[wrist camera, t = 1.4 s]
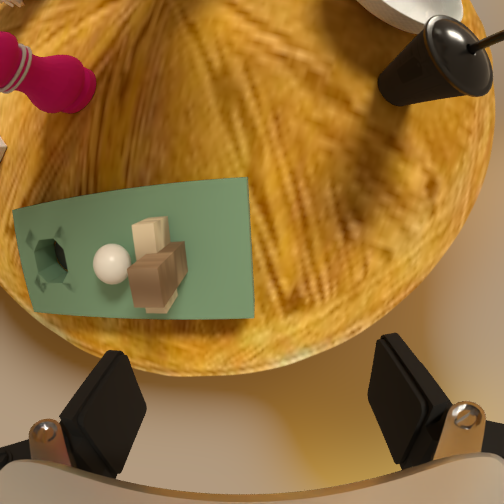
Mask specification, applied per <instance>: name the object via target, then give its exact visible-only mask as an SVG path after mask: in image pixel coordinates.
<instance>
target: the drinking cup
mask: <svg viewBox="0 0 504 504" xmlns="http://www.w3.org/2000/svg"><path fill="white" fill-rule="evenodd" d="M503 40H504V30H502V31H500V32H497V33H495V34H493V35H491V36H488V37H486V38H484V39H482V40H480V41H479V39H478V38H477V37H476V36H475V35H474V33H473V32H472V31H471V30H470V29H469V28H468V27H466V26H465V25H464V24H463V23H461V22H460V21H458V20H456V19H454V18H452V17H450V16H446V15H435V16H432V17H431V18H429V19H428V20H427V21H426V23H425V25H424V29H423V30H422V31H421V32H420V33H419V34H418V35H417V36H416V37H415V38H414V39H413V40H412V41H411V42H410V43H409V44H408V45H407V46H406V47H405V49H404V50H403V51H402V52H401V53H400V54H399V55H398V56H397V57H396V58H395V59H394V60H393V61H392V62H391V63H390V64H389V65H388V66H387V68H386V69H385V70H384V71H383V72H382V73H381V74H380V76H379V78H378V87H379V90H380V92H381V94H382V96H383V97H384V98H385V99H386V100H387V101H388V102H390V103H391V104H393V105H396V106H405V105H410V104H415V103H420V102H426V101H431V100H437V99H443V98H450V97H457V96H464V95H468V96H472V97H480V96H483V95H485V94H487V93H488V92H489V90H490V89H491V86H492V82H493V71H492V66H491V63H490V60H489V57H488V55H487V53H486V51H485V49H484V48H486V47H489V46H491V45H493V44H496V43H499V42H501V41H503Z"/></svg>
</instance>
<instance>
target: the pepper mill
mask: <svg viewBox="0 0 504 504" xmlns="http://www.w3.org/2000/svg"><path fill="white" fill-rule="evenodd" d="M95 89H96V78H95V75H94V73H93V72H92V71H91V70H89V69H87V68H85V67H83V65H82V63H81V62H80V61H79V60H78V59H77V58H75V57H72V56H69V55H54V56H48V57H38V56H35V55H33V54H32V51H31V49H30V47H28V46H24V45H23V44H18V42H17V39H16V37H15V36H14V35H12V34H11V33H8V32H2V31H0V92H3V93H10V92H12V91H14V90H18V91H21V92H23V93H25V94H26V95H27V96H28V98H29V99H30V100H31V102H32V103H33V104H34V105H35V106H36V107H37V108H39V109H40V110H42V111H45V112H47V113H57V112H60V111H61V112H65V113H76V112H78V111H80V110H81V109H83V108H84V107H85V106H86V105H87V104H88V103H89V102H90V100H91V99H92V97H93V95H94V92H95Z"/></svg>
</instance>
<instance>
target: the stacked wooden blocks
mask: <svg viewBox="0 0 504 504" xmlns="http://www.w3.org/2000/svg"><path fill="white" fill-rule="evenodd" d="M132 233H133V240H134V247H135V254H136V260H137V261H136V262H135V263H134V264H132V265H131V266H130V267H129V268H127V274H128V279H129V284H130V289H131V294H132V299H133V304H134V307H135V308H145V309H146V313H166V314H167V312H168V311H169V309H170V308H171V306H172V304H173V303H174V301H175V299H176V298H177V296H178V293H177V287H178V286H179V284H180V283H181V281H182V280H183V278H184V277H185V275H186V274H187V272H188V267H187V258H186V250H185V241H180V242H171V241H170V233H169V223H168V216H161V217H150V218H146V219H144V220H142V221H140V222H137V223H135V224H133V225H132Z"/></svg>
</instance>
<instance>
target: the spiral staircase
mask: <svg viewBox="0 0 504 504" xmlns="http://www.w3.org/2000/svg"><path fill="white" fill-rule="evenodd" d="M9 1H10V2H12V3H14V4H15V5H17V6H18V7H21V6H24V5H25V4H24V3H23V0H9ZM9 1H7V0H0V3H1V4H2V3H3V2H4V3H6V4H7V5H9V6H11V7H13V6H14V5H13V4H12V3H10V2H9Z"/></svg>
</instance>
